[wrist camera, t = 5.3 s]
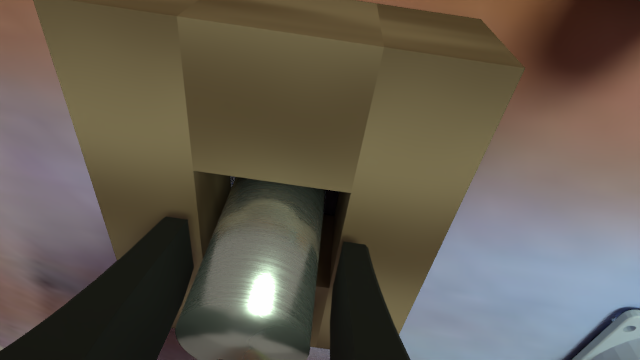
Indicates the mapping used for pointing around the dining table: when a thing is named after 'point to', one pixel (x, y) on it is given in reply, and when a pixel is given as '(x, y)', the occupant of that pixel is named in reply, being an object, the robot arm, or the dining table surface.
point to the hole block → (283, 119)
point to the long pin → (257, 276)
